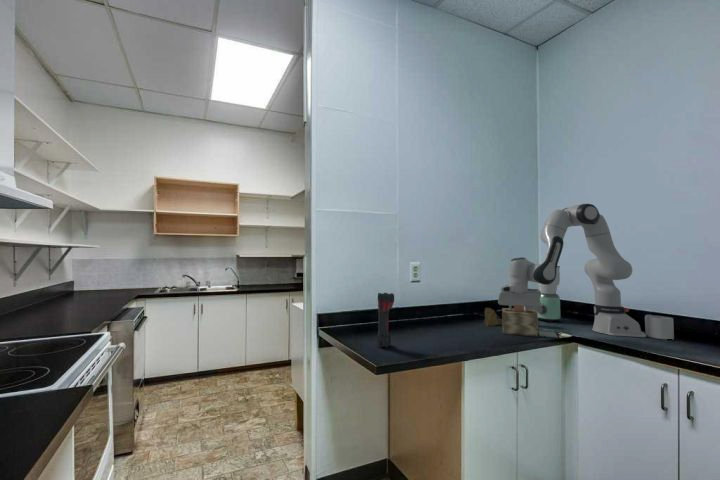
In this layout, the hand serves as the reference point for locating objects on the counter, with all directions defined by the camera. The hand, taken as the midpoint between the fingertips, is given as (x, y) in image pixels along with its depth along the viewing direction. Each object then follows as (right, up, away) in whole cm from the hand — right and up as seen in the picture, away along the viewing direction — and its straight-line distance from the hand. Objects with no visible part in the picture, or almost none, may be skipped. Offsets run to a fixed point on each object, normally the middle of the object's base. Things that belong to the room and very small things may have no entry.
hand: (518, 314), depth 174 cm
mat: (+12, -9, -5) cm, 16 cm away
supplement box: (+14, -10, +17) cm, 24 cm away
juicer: (+34, -11, +32) cm, 48 cm away
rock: (-7, -10, +18) cm, 21 cm away
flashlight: (-73, -7, -28) cm, 78 cm away
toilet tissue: (+66, -10, -8) cm, 67 cm away
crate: (0, -9, 0) cm, 9 cm away
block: (0, -3, 0) cm, 3 cm away
